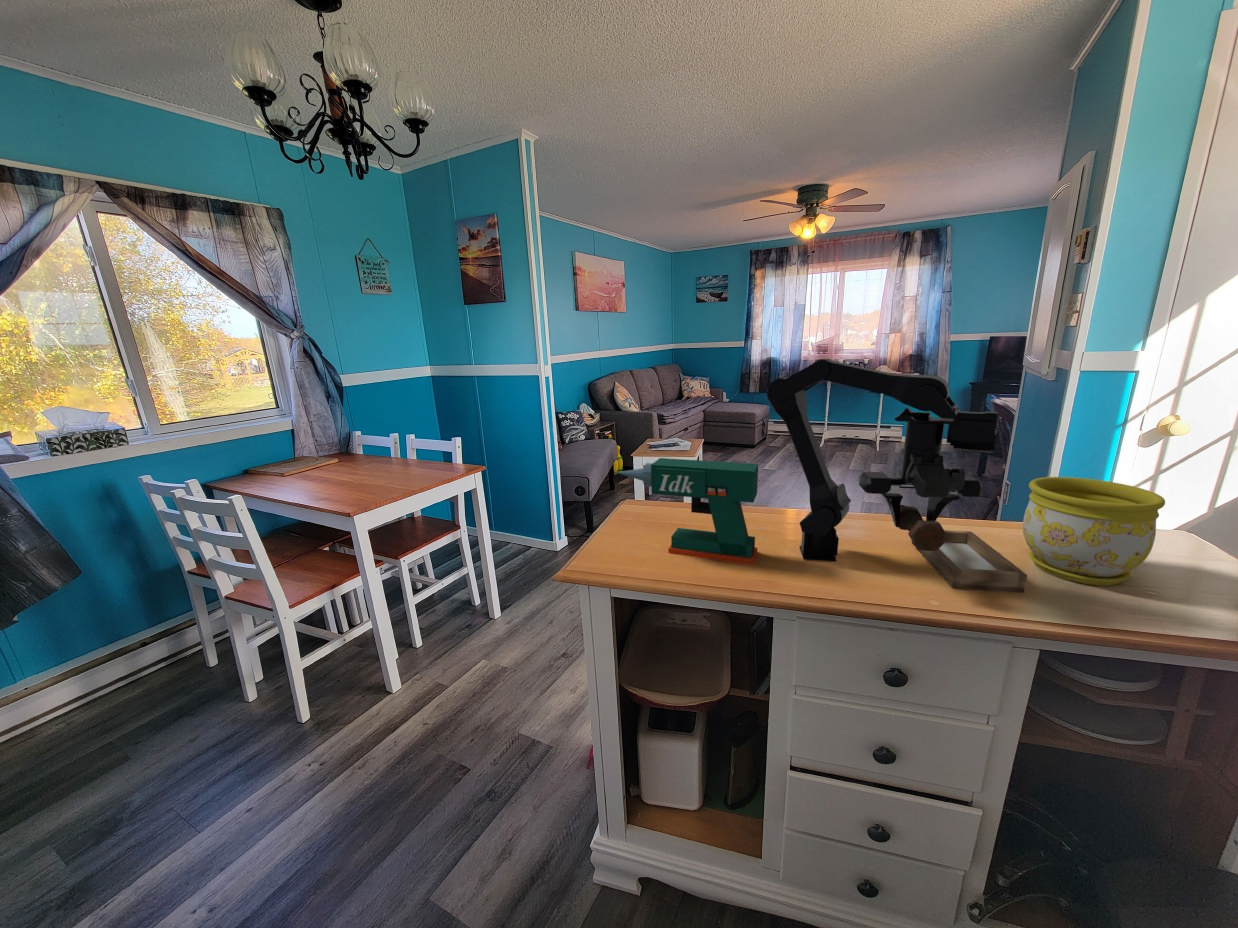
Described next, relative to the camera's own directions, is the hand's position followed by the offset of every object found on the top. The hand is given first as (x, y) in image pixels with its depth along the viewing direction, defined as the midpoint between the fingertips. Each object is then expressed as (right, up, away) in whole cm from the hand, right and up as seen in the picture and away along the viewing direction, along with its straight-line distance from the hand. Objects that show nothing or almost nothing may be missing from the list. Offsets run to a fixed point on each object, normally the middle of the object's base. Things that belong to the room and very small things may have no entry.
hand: (912, 527), depth 90 cm
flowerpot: (+33, -9, +2) cm, 34 cm away
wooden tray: (+13, -8, +6) cm, 17 cm away
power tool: (-41, -7, +18) cm, 45 cm away
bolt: (0, -2, 0) cm, 2 cm away
